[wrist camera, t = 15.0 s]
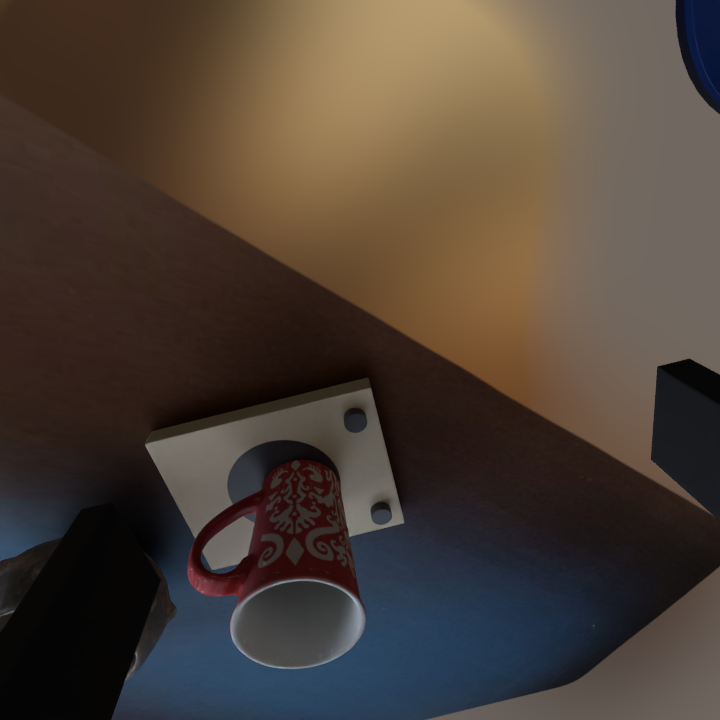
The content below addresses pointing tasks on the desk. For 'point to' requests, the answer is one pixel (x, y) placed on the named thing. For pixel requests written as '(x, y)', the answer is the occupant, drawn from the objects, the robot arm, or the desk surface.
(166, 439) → the stove
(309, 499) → the mug
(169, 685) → the desk surface
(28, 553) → the bowl
